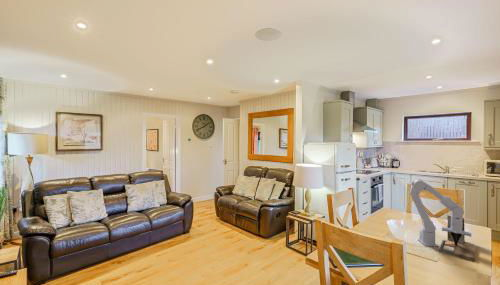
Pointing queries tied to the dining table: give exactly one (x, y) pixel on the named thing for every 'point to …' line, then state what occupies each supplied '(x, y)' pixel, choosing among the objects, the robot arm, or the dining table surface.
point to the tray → (444, 249)
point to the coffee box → (456, 233)
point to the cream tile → (448, 248)
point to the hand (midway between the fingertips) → (456, 244)
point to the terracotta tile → (449, 244)
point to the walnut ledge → (465, 252)
